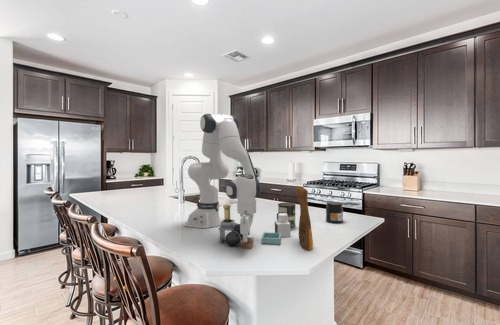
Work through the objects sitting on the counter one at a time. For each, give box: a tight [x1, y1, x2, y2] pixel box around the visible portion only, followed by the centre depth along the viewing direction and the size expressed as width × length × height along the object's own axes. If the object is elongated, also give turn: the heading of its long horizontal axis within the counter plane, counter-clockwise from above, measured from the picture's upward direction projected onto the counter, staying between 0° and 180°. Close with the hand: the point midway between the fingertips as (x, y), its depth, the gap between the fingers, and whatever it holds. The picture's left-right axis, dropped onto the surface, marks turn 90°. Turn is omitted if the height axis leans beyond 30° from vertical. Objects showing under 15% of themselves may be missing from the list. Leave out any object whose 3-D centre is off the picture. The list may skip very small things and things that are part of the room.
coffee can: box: [277, 202, 296, 231], centre depth 149 cm, size 10×10×14 cm
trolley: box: [218, 218, 243, 248], centre depth 126 cm, size 11×15×10 cm
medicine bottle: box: [274, 212, 291, 238], centre depth 135 cm, size 7×7×12 cm
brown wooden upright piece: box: [294, 185, 314, 251], centre depth 120 cm, size 7×19×28 cm, turn 177°
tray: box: [261, 231, 282, 246], centre depth 125 cm, size 9×9×3 cm
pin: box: [222, 204, 232, 222], centre depth 126 cm, size 4×4×10 cm
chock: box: [240, 236, 254, 250], centre depth 118 cm, size 5×4×4 cm
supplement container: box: [325, 201, 344, 224], centre depth 161 cm, size 10×10×12 cm
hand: (246, 237), depth 118 cm, fingers open, 8 cm apart
